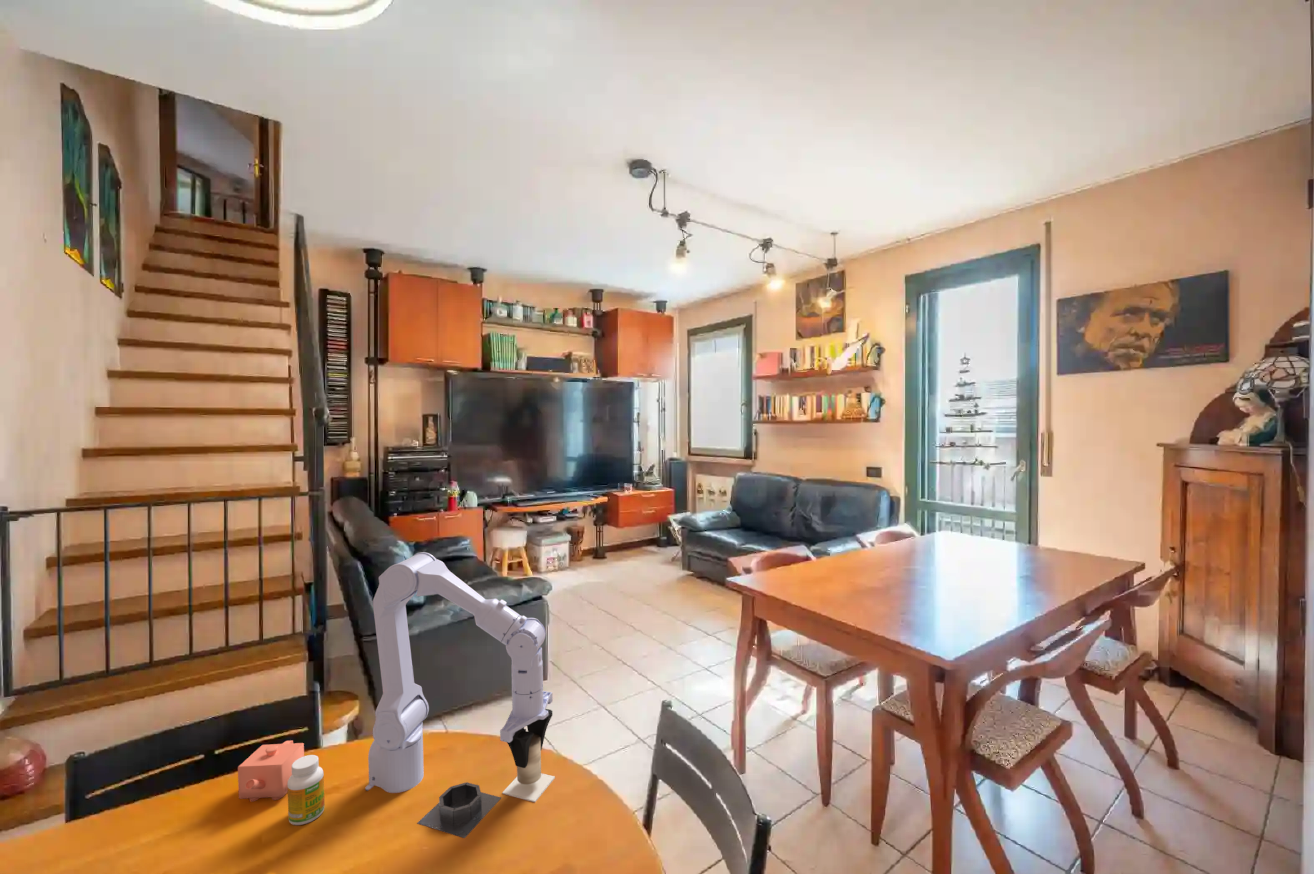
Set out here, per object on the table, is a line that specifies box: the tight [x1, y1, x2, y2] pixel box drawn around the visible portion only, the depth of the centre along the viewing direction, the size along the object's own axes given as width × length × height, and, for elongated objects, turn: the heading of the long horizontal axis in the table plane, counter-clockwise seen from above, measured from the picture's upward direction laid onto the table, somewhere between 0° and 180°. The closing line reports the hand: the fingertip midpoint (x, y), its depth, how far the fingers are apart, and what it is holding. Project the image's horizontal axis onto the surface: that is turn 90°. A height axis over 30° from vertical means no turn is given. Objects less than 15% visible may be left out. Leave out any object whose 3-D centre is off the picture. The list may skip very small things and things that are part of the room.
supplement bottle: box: [287, 754, 325, 826], centre depth 95 cm, size 5×5×10 cm
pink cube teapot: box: [237, 740, 305, 802], centre depth 101 cm, size 8×12×8 cm, turn 4°
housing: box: [416, 781, 502, 839], centre depth 95 cm, size 10×10×3 cm
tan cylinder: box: [516, 734, 542, 784], centre depth 101 cm, size 4×4×7 cm
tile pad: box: [501, 772, 556, 803], centre depth 101 cm, size 7×7×1 cm
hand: (528, 757), depth 101 cm, fingers closed on tan cylinder, 4 cm apart
